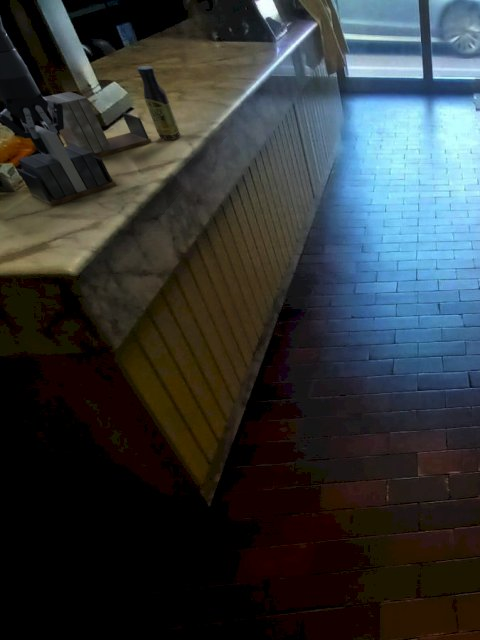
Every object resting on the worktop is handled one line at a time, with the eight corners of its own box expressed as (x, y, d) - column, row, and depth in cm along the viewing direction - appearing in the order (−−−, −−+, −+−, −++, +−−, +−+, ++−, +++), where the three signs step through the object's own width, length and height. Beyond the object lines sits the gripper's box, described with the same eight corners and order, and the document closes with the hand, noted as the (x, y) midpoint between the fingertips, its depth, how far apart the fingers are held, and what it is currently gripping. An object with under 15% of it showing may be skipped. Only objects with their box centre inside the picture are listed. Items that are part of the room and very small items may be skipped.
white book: (77, 192, 132) (45, 135, 122) (59, 184, 135) (26, 127, 125) (87, 189, 133) (56, 133, 124) (68, 181, 137) (37, 125, 127)
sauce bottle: (155, 139, 163) (125, 68, 149) (170, 133, 168) (142, 63, 154) (172, 142, 162) (143, 70, 148) (187, 136, 166) (160, 66, 153)
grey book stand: (85, 161, 149) (55, 104, 138) (67, 153, 152) (36, 97, 142) (151, 142, 161) (128, 89, 151) (133, 135, 165) (109, 83, 155)
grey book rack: (52, 206, 128) (30, 170, 122) (31, 196, 132) (9, 160, 126) (116, 185, 138) (99, 151, 132) (95, 176, 142) (78, 142, 136)
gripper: (34, 64, 122) (74, 140, 134) (-36, 76, 113) (13, 156, 125) (50, 70, 119) (90, 147, 131) (-20, 82, 110) (29, 163, 122)
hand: (52, 151), depth 128 cm, fingers open, 3 cm apart
